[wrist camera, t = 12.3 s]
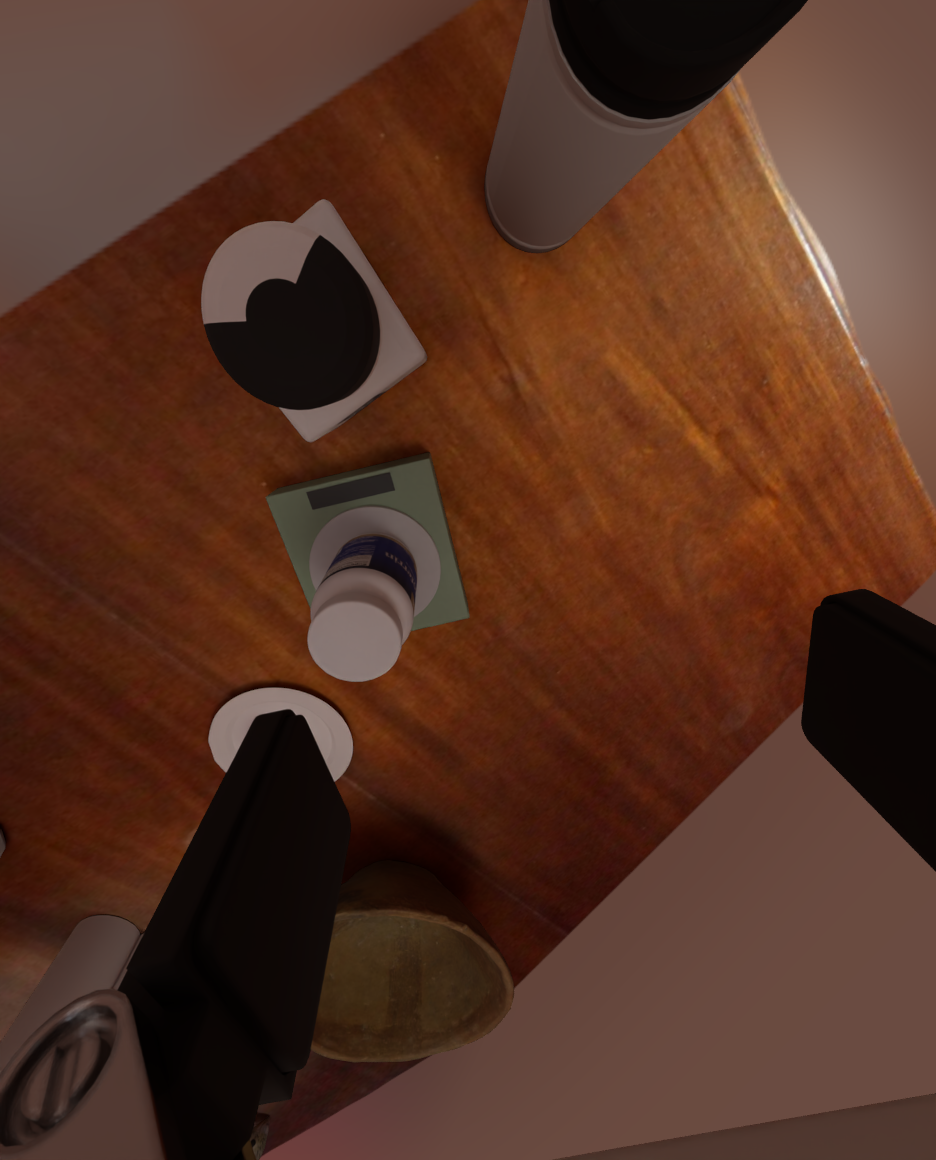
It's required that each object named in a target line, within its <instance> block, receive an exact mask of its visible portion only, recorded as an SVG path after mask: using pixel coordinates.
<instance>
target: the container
mask: <svg viewBox="0 0 936 1160" xmlns="http://www.w3.org/2000/svg"><path fill="white" fill-rule="evenodd" d="M201 308H202V316H203V322H204V327H205V330H206V334H207V337H208V340H209V342H210V345H211V347H212V349H213V351H214V353H215V355H216V357H217V358H218V360H219V362H220V363H221V365H222V366H223V367H224V369H225V370H226V372H227V373H228V374H229V375H230V376H231V377H232V378H233V379H234V381H235V382H236V383H238V384H239V385H240V386H241V387H242V388H243V389H244V390H246V391H247V392H249V393H250V394H251V395H253V396H254V397H256V398H258V399H260V400H262V401H264V402H266V403H268V404H271V405H274V406H276V407H279V408H280V409H281V411H282V412H283V413H284V414H285V416H286V417H287V418H288V419H289V421H290V422H291V423H292V425H293V426H294V427H295V428H296V430H297V431H298V432H299V433H300V435H301V436H302V437H303V438H304V439H305V440H306V441H308V442H313V441H315V440H317V439H319V438H320V437H322V436H324V435H325V434H327V433H329V432H331V431H332V430H334V429H336V428H337V427H339V426H340V425H342V424H343V423H344V422H346V421H347V420H348V419H350V418H351V417H352V416H354V415H355V414H356V413H358V412H359V411H360V410H362V409H363V408H365V407H366V406H367V405H369V404H370V403H371V402H373V401H374V400H375V399H377V398H378V397H379V396H381V395H382V394H383V393H385V392H386V391H387V390H389V389H390V388H391V387H393V386H394V385H395V384H397V383H398V382H399V381H401V380H402V379H403V378H405V377H406V376H407V375H409V374H410V373H412V372H413V371H414V370H416V369H417V368H418V367H420V366H421V365H422V364H424V363H425V362H426V360H427V354H426V352H425V350H424V349H423V347H422V345H421V344H420V342H419V341H418V339H417V337H416V336H415V334H414V333H413V331H412V330H411V328H410V326H409V325H408V323H407V322H406V320H405V319H404V317H403V315H402V314H401V312H400V311H399V309H398V307H397V306H396V304H395V303H394V301H393V300H392V298H391V296H390V295H389V293H388V292H387V290H386V289H385V287H384V285H383V284H382V282H381V281H380V279H379V277H378V276H377V274H376V273H375V271H374V270H373V268H372V266H371V265H370V263H369V262H368V260H367V259H366V257H365V255H364V254H363V252H362V251H361V249H360V247H359V246H358V244H357V243H356V241H355V240H354V238H353V236H352V235H351V233H350V232H349V230H348V229H347V227H346V225H345V224H344V222H343V221H342V219H341V217H340V216H339V214H338V213H337V211H336V210H335V208H334V206H333V205H332V204H331V203H330V202H329V201H328V200H324V199H322V200H320V201H318V202H317V203H316V204H315V205H314V206H312V207H311V208H310V209H309V210H308V211H307V212H305V213H304V214H303V215H302V216H301V217H300V218H298V219H297V220H296V221H295V222H294V223H288V222H283V221H267V222H260V223H256V224H253V225H250V226H247V227H244V228H243V229H241V230H239V231H237V232H235V233H234V234H233V235H231V236H230V237H229V238H228V239H226V240H225V241H224V242H223V244H222V245H221V246H220V247H219V248H218V249H217V251H216V252H215V254H214V256H213V257H212V259H211V261H210V263H209V265H208V268H207V270H206V273H205V277H204V281H203V286H202V296H201Z"/></svg>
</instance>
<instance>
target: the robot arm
mask: <svg viewBox="0 0 936 1160" xmlns="http://www.w3.org/2000/svg"><path fill="white" fill-rule="evenodd" d="M801 724H802V729H803V732H804V734H805V736H806V738H807V739H808V741H809V742H810V743H811V744H812V745H813V746H814V747H815V748H816V749H817V750H818V751H819V752H820V754H822V756H824V758H825V759H826V760H827V761H828V762H829V763H830V764H831V765H832V766H833V767H834V768H835V769H836V770H837V771H838V772H839V773H840V774H841V775H842V776H843V777H844V778H845V779H846V780H847V781H848V782H849V783H850V784H851V785H852V786H853V787H854V788H855V789H856V790H857V791H858V792H859V793H860V794H861V796H862V797H863V798H865V800H866V801H867V802H868V803H869V804H870V805H871V806H872V807H873V808H874V809H875V810H876V811H877V812H878V813H879V814H880V815H881V816H882V817H883V818H884V819H885V820H886V821H887V822H888V823H889V824H890V825H891V826H892V827H893V828H894V829H895V830H896V831H897V832H898V833H899V834H900V836H901V837H902V838H903V839H904V840H905V841H906V842H907V843H908V844H909V845H910V846H911V847H912V848H913V849H914V850H915V851H916V852H917V853H918V854H919V855H920V856H921V857H922V858H923V859H924V860H925V861H926V862H927V863H928V864H929V865H930V866H931V867H932V868H933V869H934V870H935V871H936V625H934V624H932V623H930V622H928V621H927V620H925V619H923V618H921V617H919V616H917V615H915V614H913V613H912V612H910V611H908V610H906V609H904V608H902V607H900V606H898V605H897V604H895V603H893V602H891V601H889V600H887V599H885V598H883V597H881V596H880V595H878V594H876V593H874V592H872V591H869V590H866V589H858V590H853V591H849V592H844V593H839V594H834V595H829V596H827V597H825V598H824V599H823V601H822V602H821V605H820V606H819V607H817V608H816V609H815V610H814V614H813V621H812V630H811V639H810V648H809V657H808V666H807V675H806V684H805V693H804V702H803V711H802V720H801ZM350 832H351V823H350V817H349V813H348V811H347V809H346V806H345V804H344V802H343V800H342V798H341V795H340V793H339V791H338V789H337V787H336V784H335V782H334V780H333V778H332V776H331V773H330V771H329V769H328V767H327V765H326V762H325V760H324V758H323V756H322V754H321V751H320V749H319V747H318V745H317V743H316V740H315V738H314V736H313V734H312V732H311V729H310V727H309V725H308V723H307V721H306V719H305V717H304V716H303V715H295V713H294V712H293V711H292V710H291V709H285V710H280V711H275V712H270V713H266V714H261V715H258V716H256V717H255V719H254V720H253V722H252V724H251V726H250V728H249V730H248V732H247V734H246V736H245V738H244V739H243V741H242V743H241V745H240V747H239V749H238V751H237V753H236V755H235V757H234V759H233V761H232V763H231V765H230V767H229V769H228V771H227V773H226V775H225V777H224V778H223V780H222V782H221V784H220V786H219V788H218V790H217V792H216V794H215V796H214V798H213V800H212V802H211V804H210V806H209V808H208V810H207V812H206V814H205V815H204V817H203V819H202V821H201V823H200V825H199V827H198V829H197V831H196V833H195V835H194V837H193V839H192V841H191V843H190V845H189V847H188V849H187V851H186V853H185V854H184V856H183V858H182V860H181V862H180V864H179V866H178V868H177V870H176V872H175V874H174V876H173V878H172V880H171V882H170V884H169V886H168V888H167V890H166V892H165V893H164V895H163V897H162V899H161V901H160V903H159V905H158V907H157V909H156V911H155V913H154V915H153V917H152V919H151V921H150V923H149V925H148V927H147V929H146V930H145V932H144V934H143V936H142V938H141V940H140V942H139V944H138V946H137V948H136V950H135V952H134V954H133V956H132V958H131V960H130V962H129V964H128V966H127V968H126V969H127V972H126V974H125V976H124V978H123V980H122V982H121V984H120V986H119V988H118V990H115V989H103V990H96V991H93V992H91V993H89V994H86V995H84V996H81V997H79V998H77V999H75V1000H74V1001H72V1002H71V1003H69V1004H68V1005H66V1006H65V1007H63V1008H62V1009H60V1010H59V1011H57V1012H56V1013H54V1014H53V1015H52V1016H51V1017H50V1018H49V1019H48V1020H47V1021H45V1022H44V1023H43V1024H42V1025H41V1026H40V1027H39V1028H38V1029H37V1030H36V1031H34V1032H33V1033H32V1034H31V1035H30V1037H29V1038H28V1039H27V1040H26V1041H25V1042H24V1043H23V1045H22V1046H21V1047H20V1048H19V1049H18V1050H17V1052H16V1053H15V1054H14V1055H13V1056H12V1057H11V1059H10V1060H9V1061H8V1063H7V1064H6V1066H5V1067H4V1069H3V1070H2V1072H1V1073H0V1160H256V1157H255V1154H254V1151H253V1148H252V1145H251V1142H250V1138H251V1135H252V1130H253V1126H254V1122H255V1118H256V1114H257V1110H258V1105H261V1104H267V1103H272V1102H278V1101H284V1100H289V1099H291V1097H292V1092H293V1087H294V1082H295V1077H296V1072H297V1070H300V1069H302V1068H303V1067H304V1066H305V1065H306V1063H307V1060H308V1058H309V1054H310V1050H311V1045H312V1040H313V1034H314V1029H315V1023H316V1018H317V1013H318V1007H319V1002H320V996H321V991H322V985H323V980H324V975H325V969H326V964H327V958H328V953H329V947H330V942H331V937H332V931H333V926H334V920H335V915H336V910H337V904H338V899H339V893H340V888H341V882H342V877H343V872H344V866H345V861H346V855H347V850H348V844H349V839H350ZM555 1160H936V1093H935V1094H929V1095H924V1096H919V1097H912V1098H906V1099H900V1100H894V1101H889V1102H883V1103H877V1104H871V1105H865V1106H859V1107H854V1108H848V1109H842V1110H837V1111H830V1112H825V1113H819V1114H813V1115H807V1116H801V1117H795V1118H789V1119H784V1120H778V1121H772V1122H766V1123H760V1124H755V1125H750V1126H743V1127H737V1128H732V1129H726V1130H720V1131H714V1132H708V1133H702V1134H697V1135H691V1136H685V1137H679V1138H674V1139H668V1140H662V1141H656V1142H650V1143H645V1144H639V1145H633V1146H627V1147H621V1148H616V1149H610V1150H605V1151H599V1152H593V1153H588V1154H582V1155H577V1156H571V1157H565V1158H560V1159H555Z"/></svg>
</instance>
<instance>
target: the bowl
mask: <svg viewBox="0 0 936 1160" xmlns="http://www.w3.org/2000/svg"><path fill="white" fill-rule="evenodd" d="M513 998H514V984H513V979H512V975H511V972H510V969H509V967H508V965H507V963H506V961H505V959H504V957H503V955H502V954H501V952H500V950H499V949H498V947H497V946H496V944H495V943H494V942H493V940H492V939H491V937H490V936H489V935H488V933H487V932H486V930H485V929H484V928H483V926H482V925H481V923H480V922H479V921H478V920H477V919H476V918H475V916H474V915H473V914H472V913H471V912H470V911H469V910H468V909H467V908H466V907H465V906H464V905H463V903H462V902H461V901H460V900H459V899H458V898H457V897H456V896H455V895H453V894H452V893H451V892H450V891H449V890H448V889H447V888H446V887H444V886H443V885H442V884H441V883H440V881H439V880H438V879H437V878H436V877H435V875H434V874H432V873H431V872H430V871H428V870H426V869H424V868H422V867H419V866H417V865H413V864H409V863H405V862H399V861H390V860H387V861H378V862H375V863H373V864H371V865H369V866H367V867H365V868H363V869H361V870H359V871H358V872H356V873H355V874H354V875H353V876H352V877H351V878H350V879H349V880H348V881H347V882H345V883H344V884H342V885H341V888H340V893H339V899H338V904H337V910H336V915H335V920H334V926H333V931H332V937H331V942H330V947H329V953H328V958H327V964H326V969H325V975H324V980H323V985H322V991H321V996H320V1002H319V1007H318V1013H317V1018H316V1023H315V1029H314V1034H313V1040H312V1045H311V1050H313V1051H314V1052H316V1053H318V1054H320V1055H323V1056H326V1057H328V1058H332V1059H338V1060H344V1061H350V1062H398V1061H410V1060H414V1059H420V1058H423V1057H427V1056H430V1055H433V1054H437V1053H441V1052H445V1051H449V1050H453V1049H457V1048H459V1047H462V1046H464V1045H466V1044H469V1043H472V1042H474V1041H475V1040H478V1039H480V1038H482V1037H483V1036H485V1035H486V1034H488V1033H490V1032H491V1031H492V1030H493V1029H494V1028H496V1026H497V1025H498V1024H499V1023H500V1022H501V1021H502V1020H503V1018H504V1017H505V1016H506V1014H507V1013H508V1012H509V1010H510V1009H511V1005H512V1002H513Z"/></svg>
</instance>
